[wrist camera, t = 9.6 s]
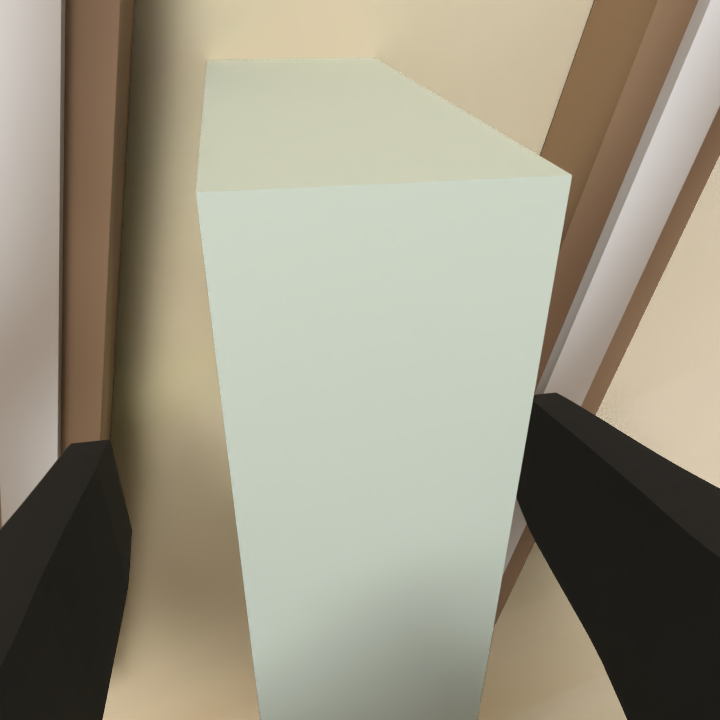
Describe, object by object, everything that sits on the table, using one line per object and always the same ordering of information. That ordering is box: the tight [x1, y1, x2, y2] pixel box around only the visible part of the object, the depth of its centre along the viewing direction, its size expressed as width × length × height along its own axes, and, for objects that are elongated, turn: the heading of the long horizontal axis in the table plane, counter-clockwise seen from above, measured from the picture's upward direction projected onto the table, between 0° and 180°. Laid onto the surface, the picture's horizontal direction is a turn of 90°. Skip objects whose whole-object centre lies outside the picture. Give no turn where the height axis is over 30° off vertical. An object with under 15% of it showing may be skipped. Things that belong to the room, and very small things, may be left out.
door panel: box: [196, 57, 572, 720], centre depth 12 cm, size 3×12×8 cm, turn 179°
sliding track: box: [0, 0, 720, 628], centre depth 14 cm, size 13×20×2 cm, turn 166°
